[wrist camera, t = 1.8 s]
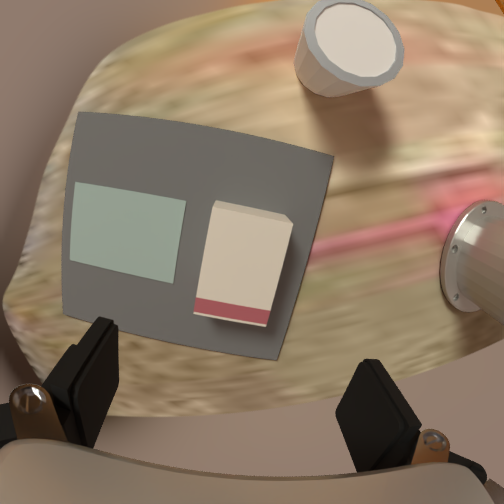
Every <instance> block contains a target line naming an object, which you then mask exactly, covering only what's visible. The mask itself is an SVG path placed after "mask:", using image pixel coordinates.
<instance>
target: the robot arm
mask: <svg viewBox="0 0 504 504" xmlns="http://www.w3.org/2000/svg"><path fill="white" fill-rule="evenodd" d="M440 276H441V285H442V289H443V292H444V295H445V297H446V299H447V300H448V301H449V302H450V304H452V305H453V306H454V307H455V308H457V309H458V310H460V311H462V312H475V311H478V310H480V309H482V310H484V311H485V312H486V313H488V314H489V315H490V316H492V317H493V318H494V319H496V320H497V321H498V322H500V323H501V324H502V325H504V205H502V204H501V203H498V202H496V201H492V200H480V201H478V202H475V203H473V204H472V205H470V206H469V207H468V208H466V209H465V210H464V211H463V213H462V214H461V215H460V216H459V217H458V219H457V220H456V222H455V223H454V225H453V227H452V229H451V231H450V233H449V235H448V237H447V240H446V243H445V246H444V249H443V254H442V259H441V268H440ZM118 384H119V361H118V325H116V324H114V320H112V319H108V318H104V317H101V316H99V317H98V318H97V319H96V320H95V321H94V323H93V324H92V325H91V327H90V328H89V329H88V331H87V332H86V333H85V335H84V336H83V338H82V339H81V340H80V342H79V343H78V344H77V345H75V344H72V345H71V346H70V347H69V348H68V349H67V351H66V352H65V353H64V355H63V356H62V358H61V359H60V360H59V362H58V363H57V364H56V366H55V367H54V369H53V370H52V371H51V373H50V374H49V376H48V377H47V379H46V380H45V381H44V383H43V384H42V386H41V387H40V386H38V385H35V384H24V385H20V386H18V387H16V388H14V390H13V391H12V392H11V393H10V396H9V403H6V404H0V504H504V488H503V487H501V486H500V485H499V484H497V483H496V482H494V481H493V480H491V479H489V480H488V481H487V474H486V472H485V470H484V468H483V467H482V466H481V465H480V464H478V463H476V462H474V461H471V460H469V459H466V458H464V457H461V456H459V455H457V454H455V453H453V452H450V451H449V449H450V444H449V441H448V439H447V437H446V436H445V435H444V434H443V433H441V432H439V431H437V430H434V429H426V430H423V431H422V432H420V431H419V429H420V427H421V426H422V424H421V422H420V421H419V419H418V418H417V416H416V415H415V413H414V412H413V410H412V408H411V407H410V406H409V404H408V402H407V401H406V399H405V398H404V396H403V395H402V394H401V392H400V390H399V389H398V387H397V386H396V384H395V383H394V381H393V380H392V378H391V377H390V375H389V374H388V372H387V371H386V369H385V368H384V366H383V365H382V363H381V362H380V361H379V360H378V359H364V360H363V362H360V363H359V365H358V367H357V369H356V371H355V373H354V375H353V377H352V379H351V381H350V383H349V385H348V387H347V389H346V391H345V393H344V395H343V398H342V399H341V401H340V403H339V405H338V407H337V409H336V418H337V421H338V423H339V426H340V429H341V431H342V434H343V437H344V439H345V442H346V444H347V447H348V450H349V452H350V455H351V457H352V460H353V463H354V466H355V468H356V471H357V473H349V474H339V475H325V476H301V477H268V476H267V477H266V476H245V475H231V474H221V473H211V472H203V471H195V470H188V469H182V468H176V467H170V466H165V465H160V464H155V463H150V462H145V461H140V460H136V459H131V458H127V457H123V456H119V455H115V454H112V453H108V452H104V451H100V450H96V449H93V447H94V445H95V442H96V440H97V437H98V435H99V432H100V429H101V427H102V424H103V422H104V419H105V417H106V414H107V412H108V409H109V407H110V405H111V402H112V400H113V397H114V395H115V393H116V390H117V388H118Z"/></svg>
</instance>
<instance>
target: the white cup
mask: <svg viewBox="0 0 504 504" xmlns="http://www.w3.org/2000/svg"><path fill="white" fill-rule="evenodd" d="M403 59H404V46H403V43H402V40H401V37H400V34H399V31H398V30H397V29H396V27H395V26H394V24H393V23H392V22H391V20H390V19H389V18H388V16H387V15H385V14H384V13H383V12H381V11H380V10H379V9H378V8H376V7H375V6H373V5H372V4H370V3H368V2H365V1H363V0H321V1H318V2H317V3H316V4H315V5H314V6H313V7H312V8H311V10H310V11H309V12H308V13H307V15H306V18H305V22H304V25H303V29H302V32H301V36H300V39H299V43H298V46H297V50H296V54H295V58H294V67H295V71H296V75H297V77H298V78H299V79H300V81H301V82H302V84H303V85H304V86H305V87H306V88H308V89H309V90H311V91H312V92H313V93H315V94H318V95H321V96H325V97H341V96H344V95H348V94H351V93H355V92H358V91H362V90H366V89H370V88H374V87H378V86H381V85H382V84H384V83H386V82H388V81H390V80H392V79H394V78H395V77H396V75H397V74H398V72H399V71H400V69H401V68H402V66H403Z"/></svg>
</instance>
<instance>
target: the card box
mask: <svg viewBox="0 0 504 504" xmlns="http://www.w3.org/2000/svg"><path fill="white" fill-rule="evenodd" d="M292 227H293V223H292V222H291V221H290V220H289V219H288V218H287V216H286V215H284V214H279V213H275V212H270V211H265V210H261V209H256V208H251V207H247V206H242V205H237V204H232V203H227V202H222V201H217V200H216V201H215V203H214V205H213V207H212V212H211V217H210V222H209V227H208V233H207V238H206V243H205V249H204V254H203V260H202V265H201V271H200V277H199V282H198V288H197V294H196V299H195V305H194V313H193V314H197V315H202V316H207V317H212V318H218V319H223V320H229V321H234V322H240V323H246V324H252V325H258V326H264V327H266V325H267V321H268V318H269V314H270V310H271V306H272V303H273V299H274V296H275V292H276V288H277V284H278V281H279V277H280V273H281V270H282V266H283V262H284V258H285V254H286V250H287V247H288V243H289V239H290V235H291V231H292Z"/></svg>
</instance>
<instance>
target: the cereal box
mask: <svg viewBox="0 0 504 504" xmlns="http://www.w3.org/2000/svg"><path fill="white" fill-rule="evenodd" d="M495 1H496V2H497V4H498V5H499V7H500V9H501V10H502V12H503V14H504V0H495Z"/></svg>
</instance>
